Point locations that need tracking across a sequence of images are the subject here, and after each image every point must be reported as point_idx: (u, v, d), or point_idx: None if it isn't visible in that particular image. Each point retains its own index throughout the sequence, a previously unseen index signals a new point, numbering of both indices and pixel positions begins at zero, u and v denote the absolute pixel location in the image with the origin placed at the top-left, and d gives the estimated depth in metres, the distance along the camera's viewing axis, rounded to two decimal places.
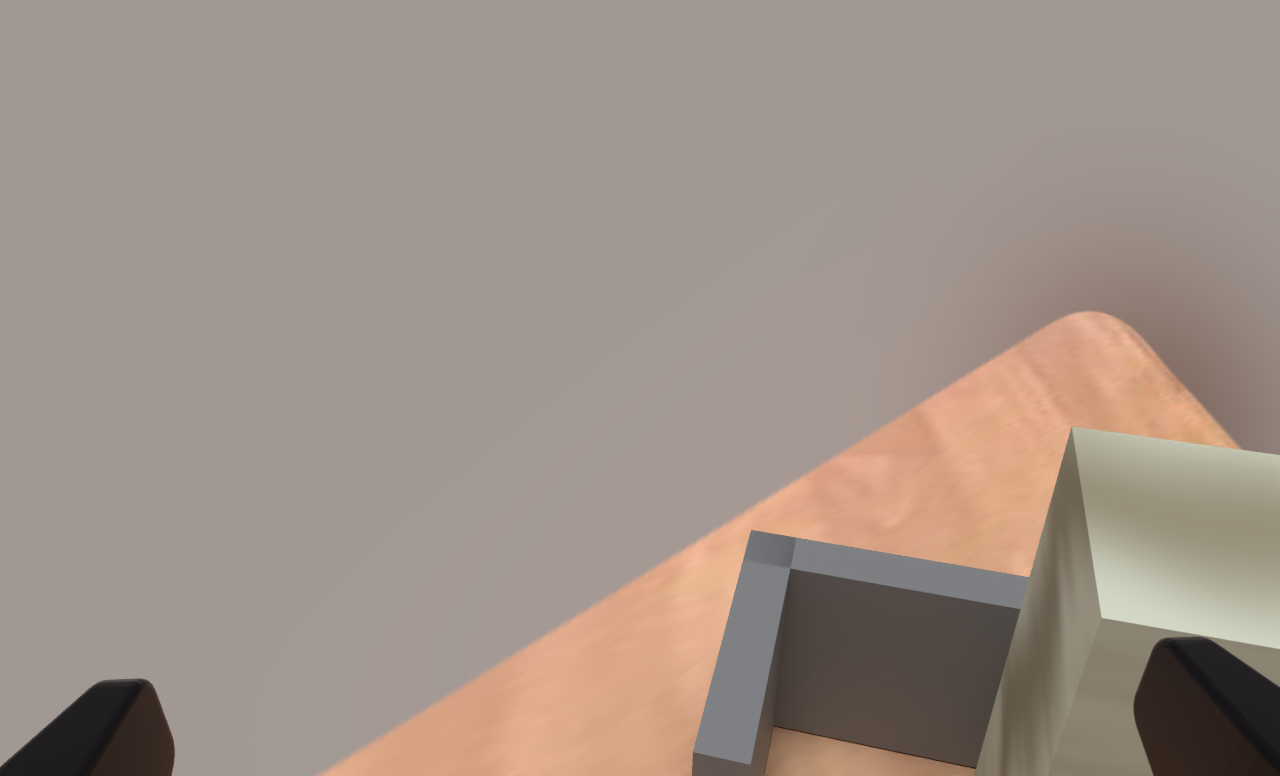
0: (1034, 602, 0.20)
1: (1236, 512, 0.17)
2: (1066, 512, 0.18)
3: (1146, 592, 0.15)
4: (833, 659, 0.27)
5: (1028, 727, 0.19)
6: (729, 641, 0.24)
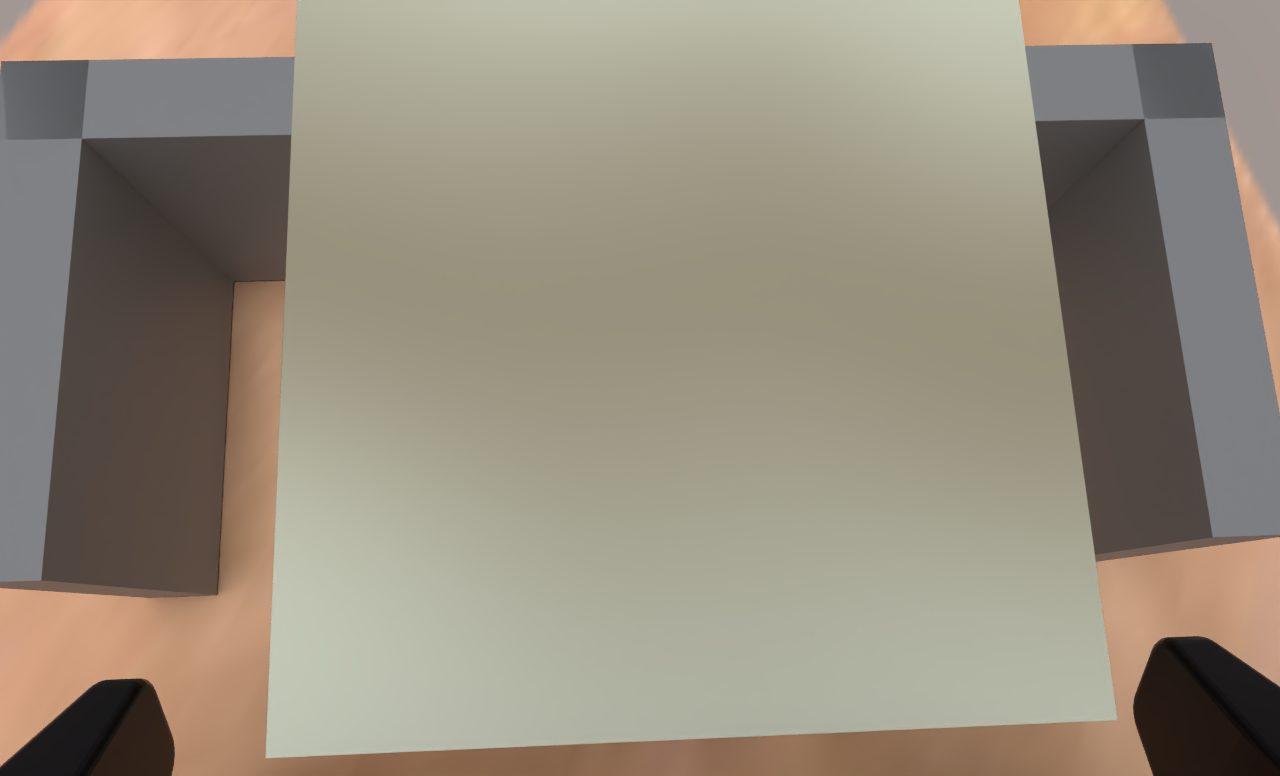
0: None
1: (658, 243, 0.07)
2: None
3: (391, 624, 0.06)
4: (253, 218, 0.17)
5: None
6: None
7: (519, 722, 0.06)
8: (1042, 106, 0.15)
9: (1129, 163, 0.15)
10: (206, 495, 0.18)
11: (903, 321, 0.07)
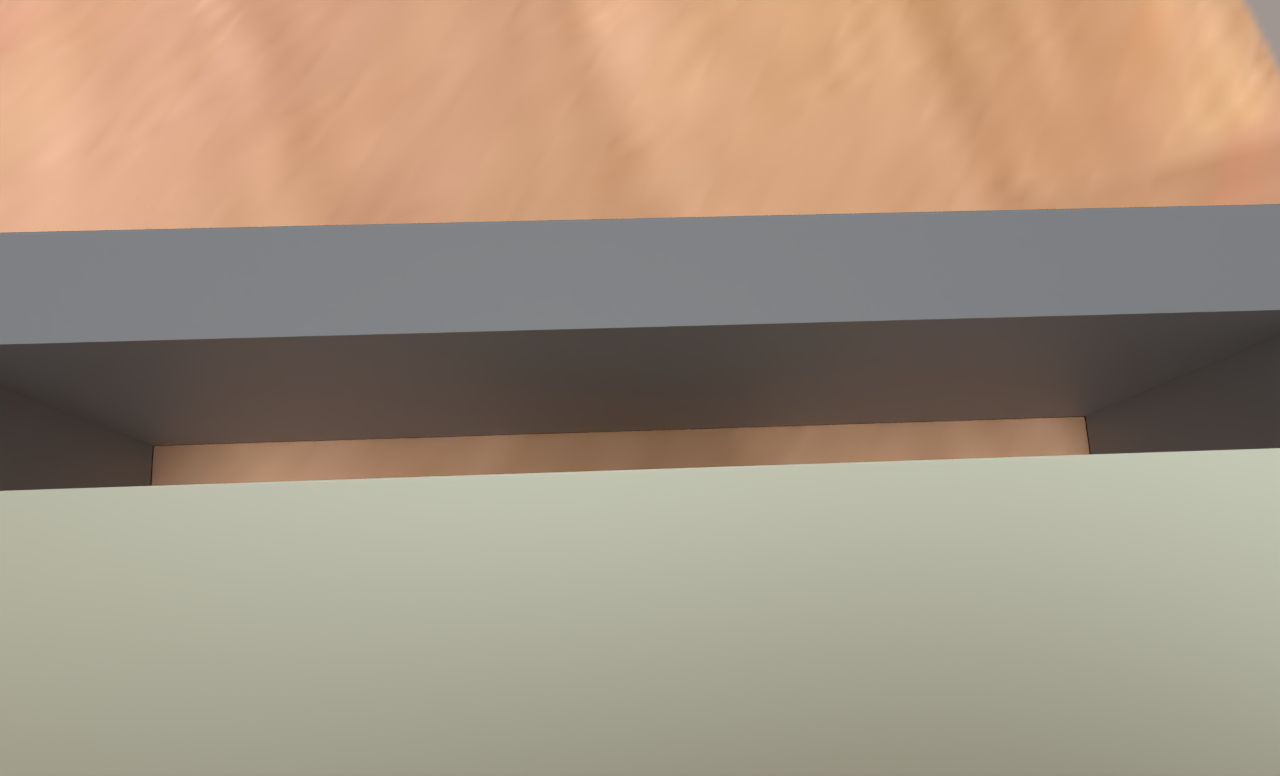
0: None
1: None
2: None
3: None
4: (159, 402, 0.13)
5: None
6: None
7: None
8: (1206, 291, 0.11)
9: None
10: None
11: None
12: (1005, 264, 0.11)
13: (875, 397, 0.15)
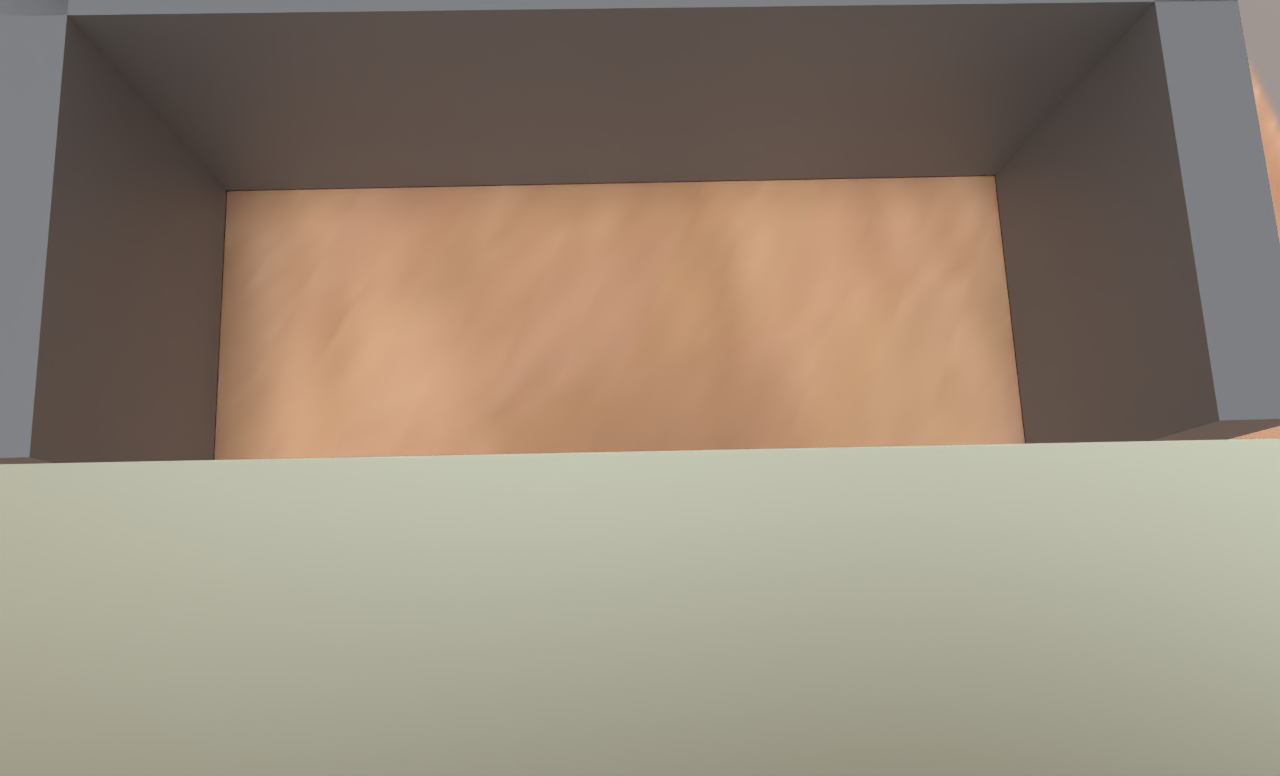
0: None
1: None
2: None
3: None
4: (244, 114, 0.17)
5: None
6: None
7: None
8: None
9: (1138, 50, 0.15)
10: (199, 402, 0.18)
11: None
12: None
13: (814, 132, 0.18)
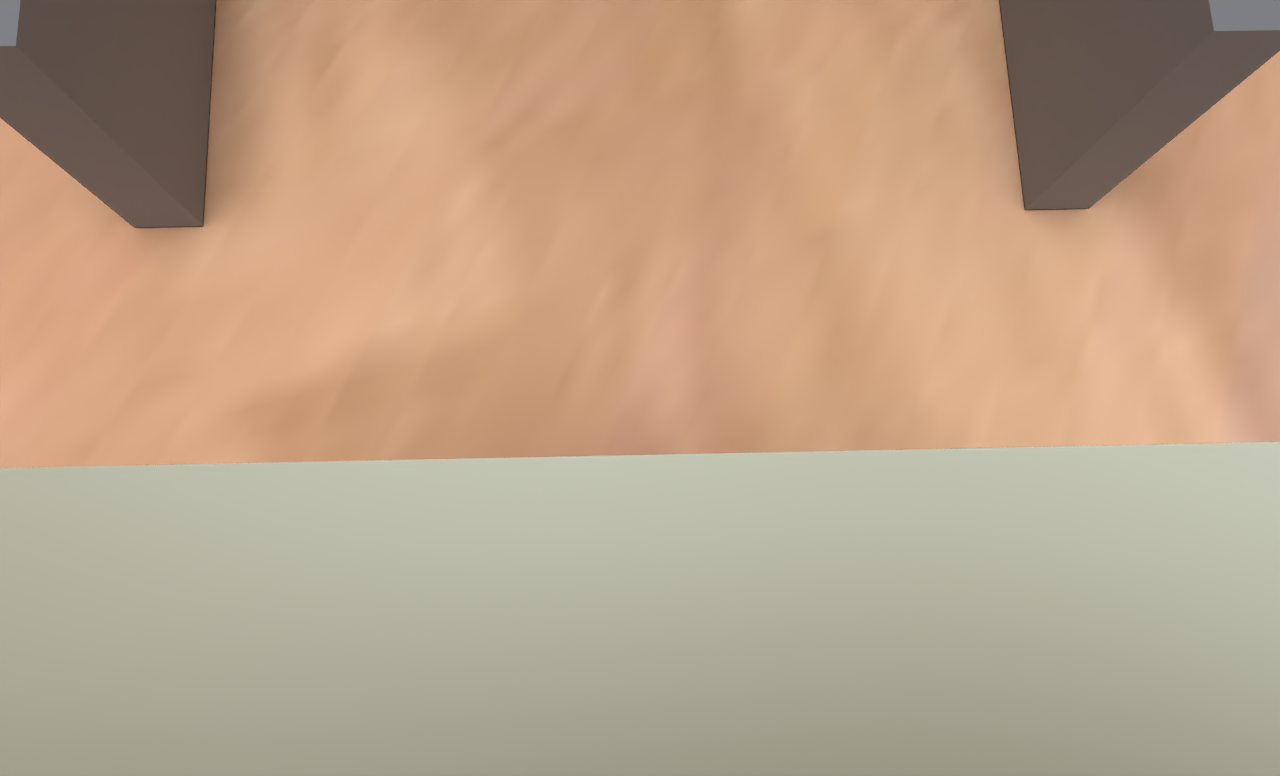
0: None
1: None
2: None
3: None
4: None
5: None
6: None
7: None
8: None
9: None
10: (191, 118, 0.18)
11: None
12: None
13: None
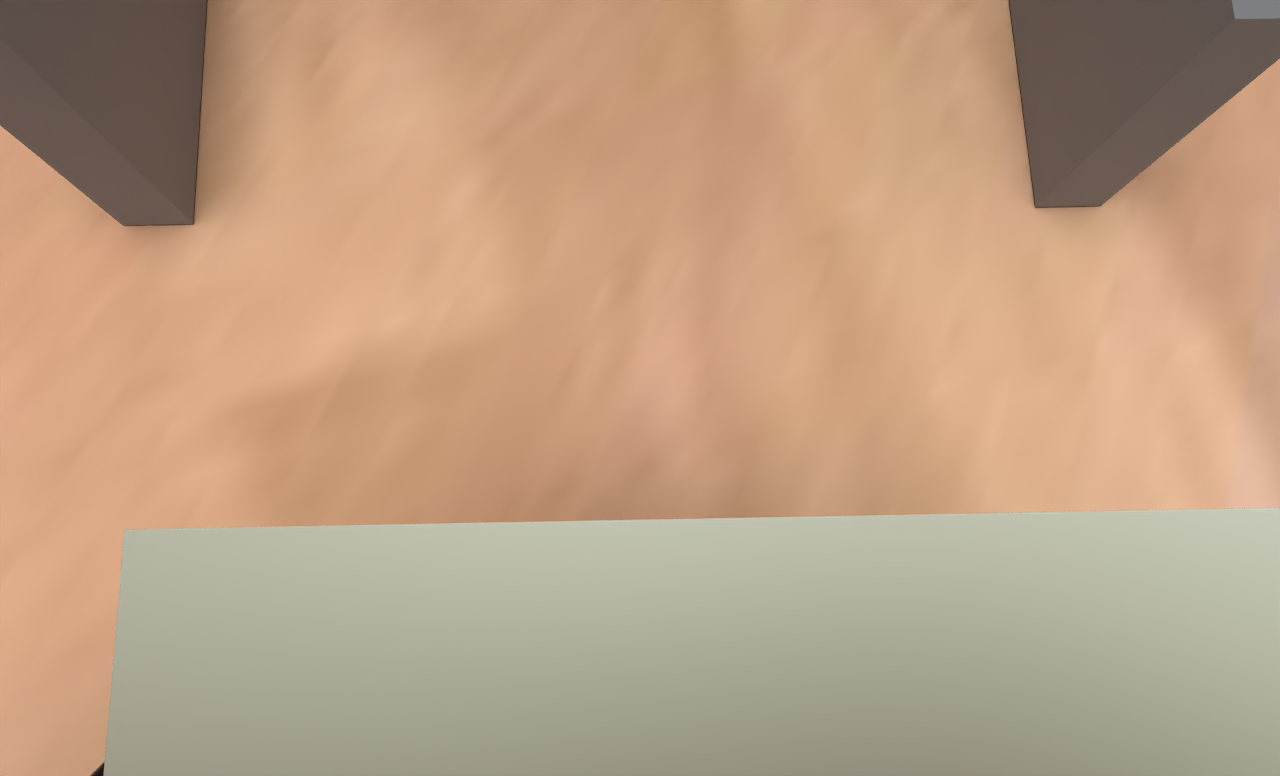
0: None
1: None
2: None
3: None
4: None
5: None
6: None
7: None
8: None
9: None
10: (181, 113, 0.18)
11: None
12: None
13: None
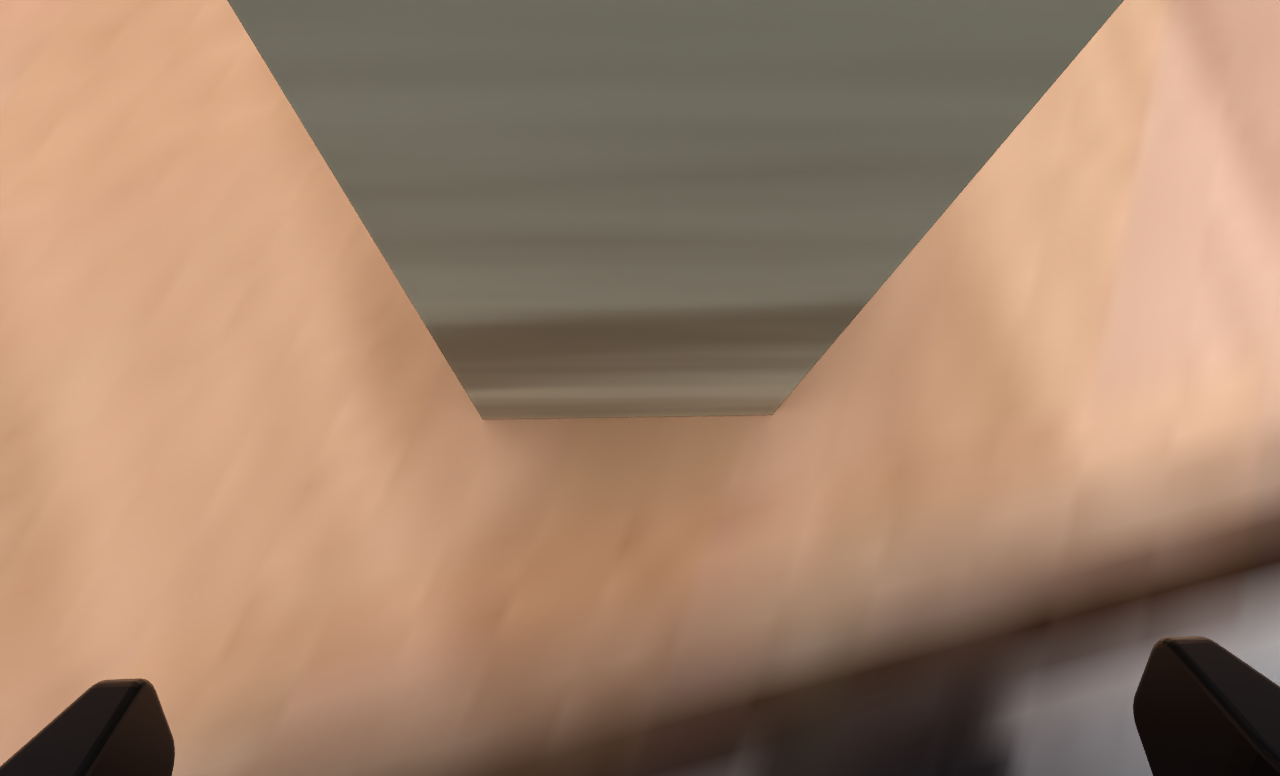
0: None
1: None
2: None
3: None
4: None
5: None
6: None
7: None
8: None
9: None
10: None
11: None
12: None
13: None
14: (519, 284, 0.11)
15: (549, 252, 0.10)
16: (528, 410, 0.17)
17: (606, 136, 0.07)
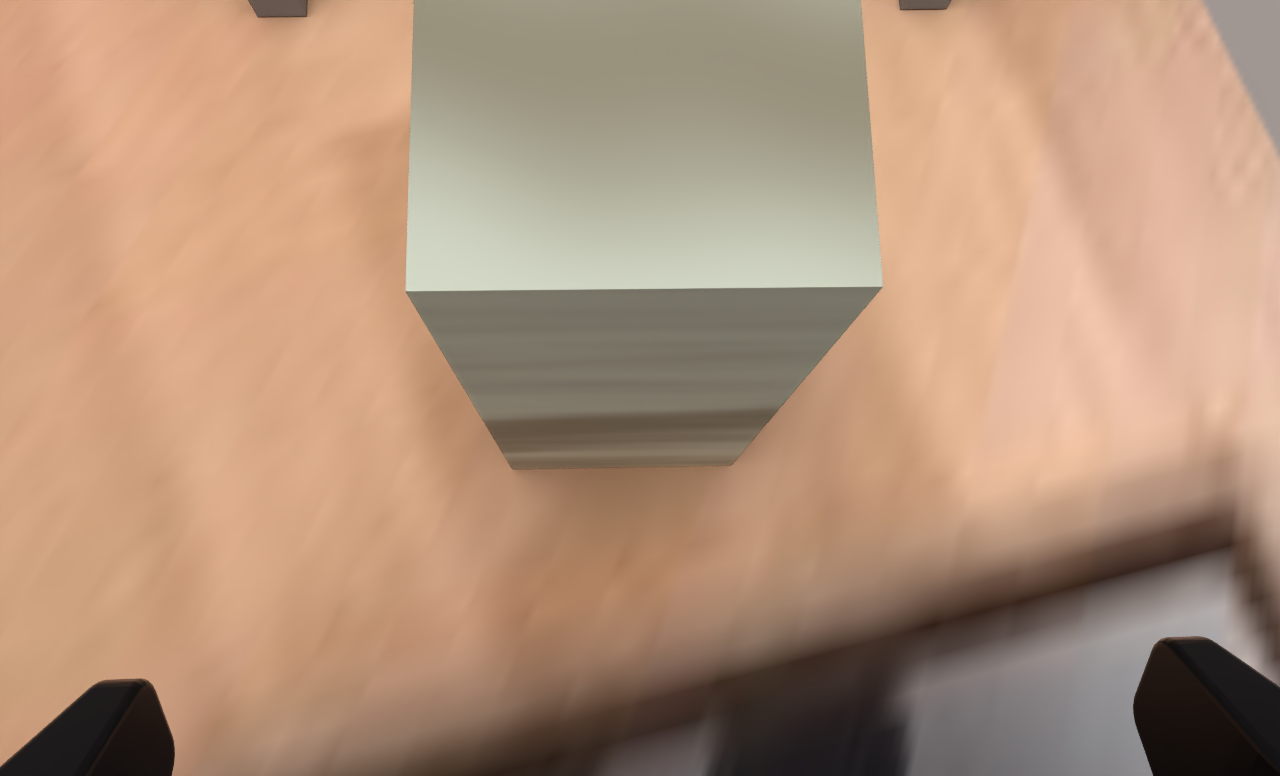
0: None
1: (630, 24, 0.11)
2: None
3: (474, 224, 0.11)
4: None
5: None
6: None
7: (546, 278, 0.11)
8: None
9: None
10: None
11: (772, 71, 0.11)
12: None
13: None
14: (548, 402, 0.16)
15: (569, 388, 0.15)
16: (547, 464, 0.23)
17: (606, 346, 0.13)
